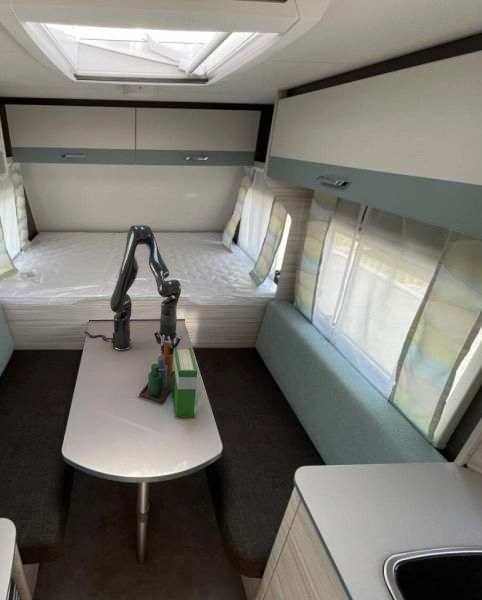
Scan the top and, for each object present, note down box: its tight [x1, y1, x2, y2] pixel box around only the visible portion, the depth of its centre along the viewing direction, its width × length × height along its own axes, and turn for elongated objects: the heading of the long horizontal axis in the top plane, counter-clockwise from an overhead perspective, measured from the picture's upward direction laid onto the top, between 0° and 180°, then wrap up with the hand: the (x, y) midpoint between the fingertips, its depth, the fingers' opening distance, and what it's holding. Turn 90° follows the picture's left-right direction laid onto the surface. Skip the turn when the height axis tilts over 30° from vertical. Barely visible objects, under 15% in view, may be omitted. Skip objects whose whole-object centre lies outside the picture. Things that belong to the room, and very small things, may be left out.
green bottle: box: [147, 363, 161, 398], centre depth 150 cm, size 6×6×16 cm
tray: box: [138, 370, 174, 405], centre depth 158 cm, size 11×23×2 cm, turn 153°
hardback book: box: [172, 347, 198, 418], centre depth 143 cm, size 18×7×24 cm, turn 1°
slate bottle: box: [157, 355, 167, 390], centre depth 155 cm, size 6×6×16 cm
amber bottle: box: [160, 341, 174, 375], centre depth 160 cm, size 6×6×16 cm
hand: (167, 352), depth 158 cm, fingers closed on amber bottle, 3 cm apart
